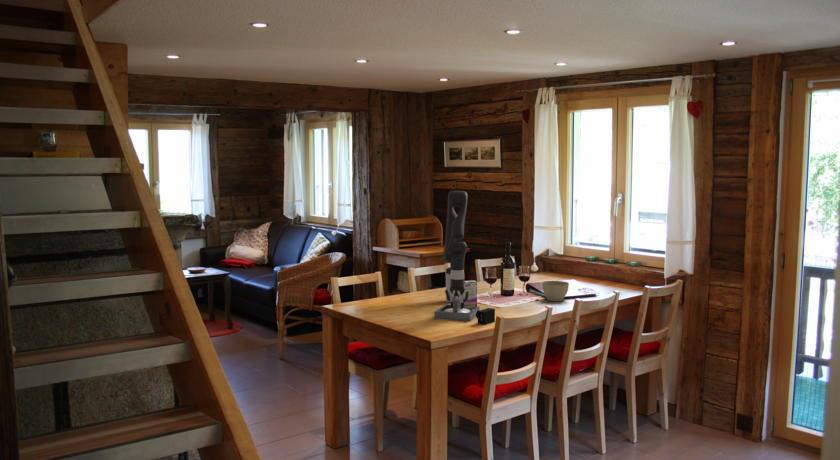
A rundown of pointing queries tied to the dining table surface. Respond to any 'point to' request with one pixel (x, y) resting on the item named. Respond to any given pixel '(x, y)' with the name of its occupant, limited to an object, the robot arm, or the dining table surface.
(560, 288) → the planter bowl
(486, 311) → the digital camera
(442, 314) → the dial housing
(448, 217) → the robot arm
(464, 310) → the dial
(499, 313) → the dining table surface
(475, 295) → the candy bar box
